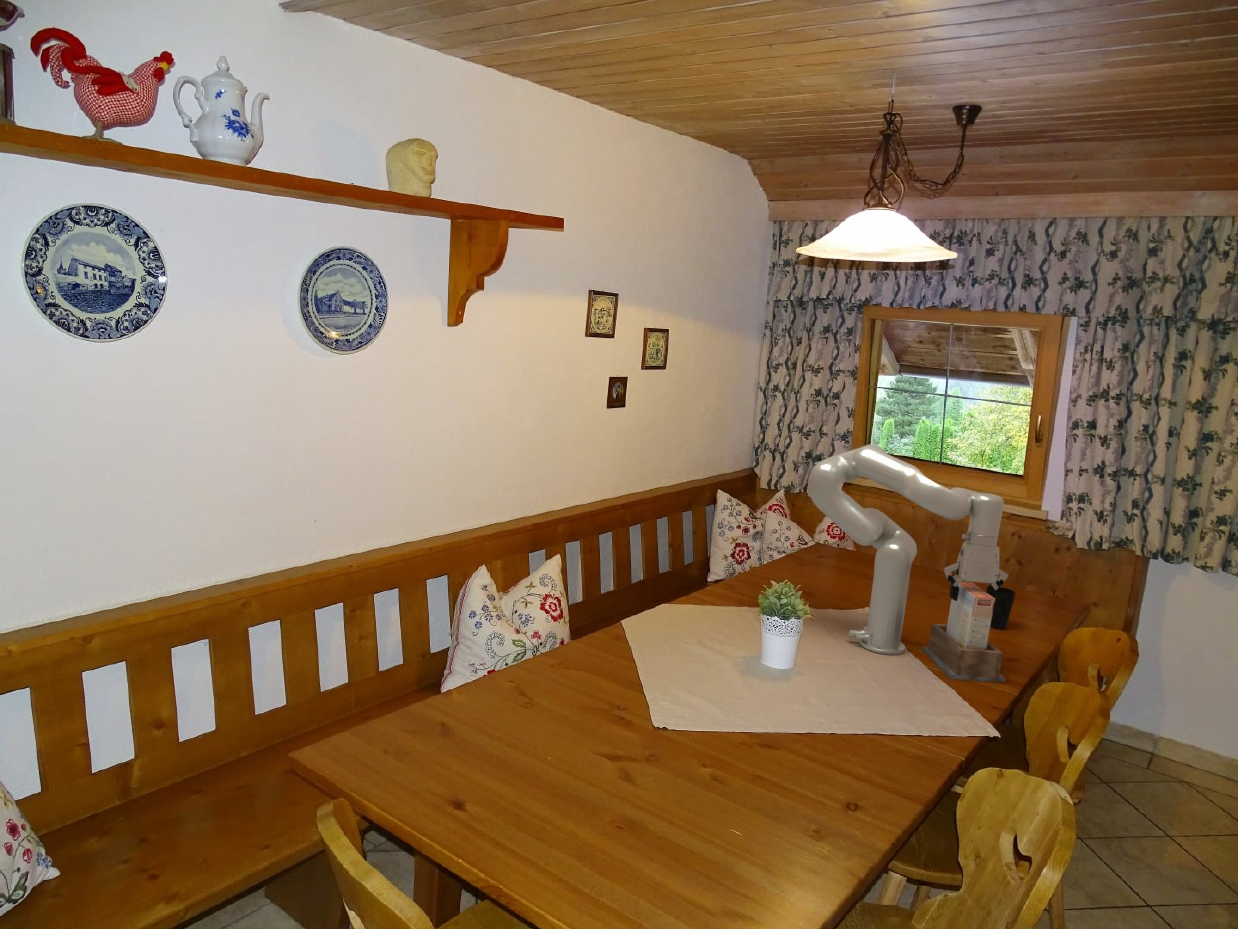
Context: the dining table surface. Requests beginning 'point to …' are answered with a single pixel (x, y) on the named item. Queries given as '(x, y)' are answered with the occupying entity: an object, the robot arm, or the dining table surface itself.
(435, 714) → the dining table surface
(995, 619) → the cup
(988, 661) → the box stand
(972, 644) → the cracker box
